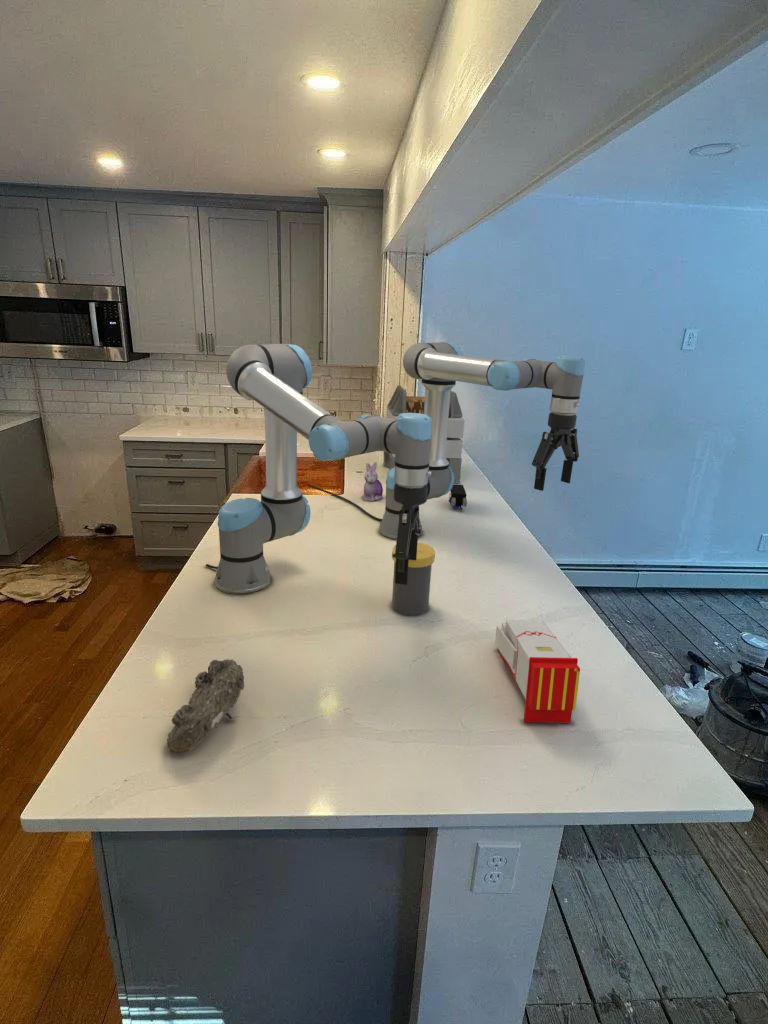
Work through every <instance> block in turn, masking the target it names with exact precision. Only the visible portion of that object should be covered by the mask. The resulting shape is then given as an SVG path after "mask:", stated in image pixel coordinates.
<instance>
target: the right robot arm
mask: <svg viewBox="0 0 768 1024" xmlns="http://www.w3.org/2000/svg"><path fill="white" fill-rule="evenodd" d="M585 365H586V360H585V358H584V357H582V356H578V355H566V354H565V355H564V354H563V355H558V356H557V357H556V360H555V361H549V360H541V359H536V358H524V359H521V360H506V359H505V360H504V359H503V360H502V359H496V358H487V357H479V356H471V355H464V354H463V352H462V350H461V349H460V347H459V346H457V345H456V344H455V343H451V342H445V341H443V342H442V341H441V342H440V341H439V342H438V341H437V342H417V343H414V344H412V345H411V346H409V347H408V348H407V350H406V351H405V353H404V355H403V358H402V366H403V369H404V372H405V373H406V374H407V375H408V376H409V377H411V378H412V379H415V380H421V385H422V386H423V387H424V389H425V392H424V397H425V404H424V414H425V415H428V416H429V417H430V418H431V434H432V438H431V446H430V456H429V469H428V471H431V475H428V483H427V484H426V485H427V487H428V492H427V500H431V499H437V498H440V497H443V496H446V495H448V493H450V492H451V491H450V490H451V489H452V487H453V484H455V483H454V473H452V469H451V467H450V466H449V462H448V461H447V459H446V458H445V453H446V441H447V428H448V416H449V404H450V392H451V391H452V389H453V388H454V387H455V386H456V384H457V382H461V383H465V384H473V385H479V386H487V387H491V388H492V389H494V390H496V391H503V392H504V391H511V390H520V389H532V388H533V389H534V388H539V389H546V390H551V398H550V404H549V413H548V418H547V419H548V420H547V426H548V427H549V428H550V431H549V432H548V431H543V432H542V435H541V440H540V442H539V445H538V447H537V449H536V452H535V454H534V457H533V460H532V461H531V466H533V467H535V475H534V477H535V478H534V485H533V489H534V490H537V491H539V492H543V491H544V489H545V484H546V483H545V482H546V476H547V468H546V466H547V465H548V463H549V461H550V459H551V457H552V456H553V454H554V453H555V451H556V450H557V449H558V448H560V447H561V449H562V452H563V455H564V458H565V459H563V463H562V468H561V469H562V470H561V475H560V482H562V483H566V484H571V478H572V472H573V466H574V463H576V462H578V461H579V457H580V453H579V444H578V428H576V423H577V419H578V416H577V414H578V412H579V411H578V410H579V406H580V397H581V391H582V385H583V380H584V376H585ZM394 473H395V467H394V468H392V469H390V468H389V470H388V472H387V474H386V479H385V504H384V505H385V507H384V508H385V509H384V513H383V515H382V518H379V517H376V516H375V515H372V514H371V513H369V512H367V511H366V510H365V509H364V508H362V507H361V506H360V505H358V504H356V503H355V502H353V501H351V500H349V499H348V498H346V497H343V496H341V495H339V494H337V493H336V494H335V493H334V492H331V491H329V490H325V489H322V488H320V487H317V486H315V485H312V484H310V483H308V484H307V486H308V487H310V488H313V489H315V490H318V491H319V492H323V493H326V494H329V495H331V496H333V497H336V498H339V499H341V500H343V501H345V502H347V503H349V504H351V505H352V506H354V507H356V508H357V509H359V510H360V511H361V512H362V513H364V514H365V515H367V516H368V517H370V518H372V519H373V520H376V521H378V522H379V526H378V533H379V534H380V535H381V536H382V537H385V538H387V539H389V540H395V541H397V534H398V526H399V513H400V510H402V506H403V505H402V504H400V503H397V502H396V501H395V500H394V485H395V484H396V483H395V482H394ZM419 525H420V527H419V529H421V534H416V535H418V538H420V537H421V536H422V535H423V525H422V524H421V518H420V517H419Z"/></svg>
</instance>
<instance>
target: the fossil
mask: <svg viewBox="0 0 768 1024" xmlns="http://www.w3.org/2000/svg"><path fill="white" fill-rule="evenodd" d="M243 670H244V669H243V667H242V665H240V664H237V662H236V661H235V660H234V659H232V658H231V659H227V658H226V659H224V660H223V661H222V660H217V659H212V660H211V661H210V663H209V665H208V666H207V671H201V672H199V673H198V674H197V675H196V676H195V680H194V684H195V685H194V687H195V689H194V690H193V693H192V694H191V697H190V698H189V700H188V704H184V705H182V706H181V707H180V709H177V710H176V711H175V713H174V715H173V716H172V718H171V723H172V724H173V727H172V730H171V731H170V732H168V734H167V738H166V741H167V742H166V745H167V749H168V750H169V751H173V752H174V753H176V754H178V753H182V752H188V751H189V752H192V751H193V750H195V748H196V747H197V746H199V744H200V743H201V742H203V741H204V740H205V739H206V738H207V737H208V736H209V735H210V734H211V733H212V732H214V730H215V729H217V727H218V726H219V724H220V722H221V721H222V720H223V719H224V718H225V716H226V717H227V719H229V720H233V717H232V715H230V714H229V710H230V709H231V708H234V706H235V704H236V703H237V702H238V699H239V697H240V695H241V693H242V691H243V690H245V689H244V688H245V675H244V671H243Z"/></svg>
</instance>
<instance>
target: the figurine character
mask: <svg viewBox="0 0 768 1024" xmlns="http://www.w3.org/2000/svg"><path fill="white" fill-rule="evenodd" d="M448 502H449V505H450V507H452V509H453V511H456V509H460V511H463V507H464V508H465V507H467V503H468V498H467V492H466V489H465V487H464V484H457V483H454V484H453V487H452V489H451V490H450V491H449V494H448Z"/></svg>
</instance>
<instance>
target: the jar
mask: <svg viewBox="0 0 768 1024" xmlns="http://www.w3.org/2000/svg"><path fill="white" fill-rule="evenodd" d="M432 565H433V563H432V564H431V565H429V566H426V567H417V568H415V567H408V580H407V585H404V584H397V583H395V570H396V562H395V561H394V560H393V578H392V595H391V597H392V598H391V608H392V609H393V611H394V612H396V613H398V614H400V615H403V616H407V617H417V616H421V615H424V614H425V613H427V612H428V610H429V604H430V591H431V580H432V579H431V578H432Z"/></svg>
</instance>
